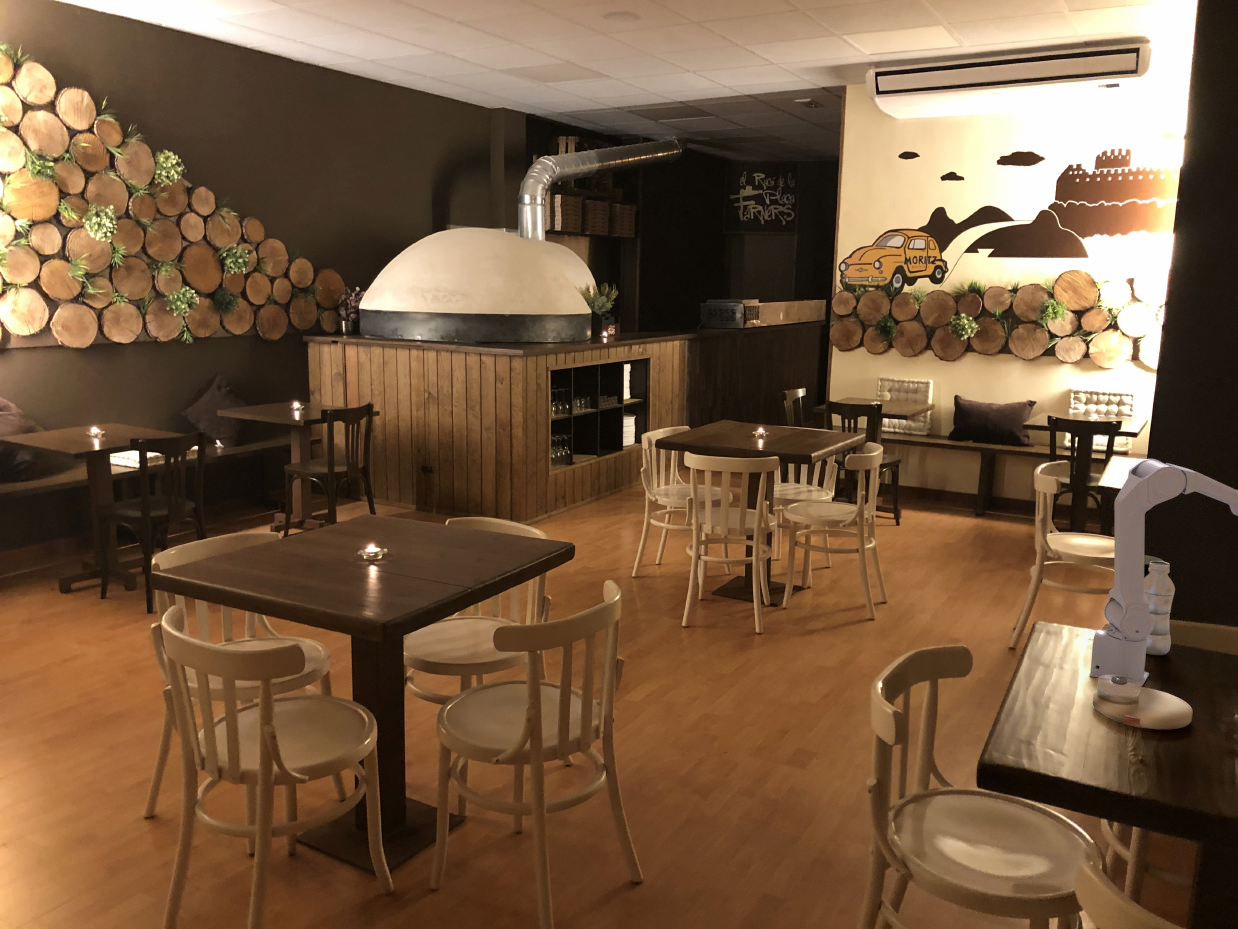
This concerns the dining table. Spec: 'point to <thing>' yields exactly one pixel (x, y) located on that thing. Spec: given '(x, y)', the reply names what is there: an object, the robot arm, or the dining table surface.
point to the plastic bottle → (1159, 606)
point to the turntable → (1148, 710)
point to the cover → (1118, 689)
